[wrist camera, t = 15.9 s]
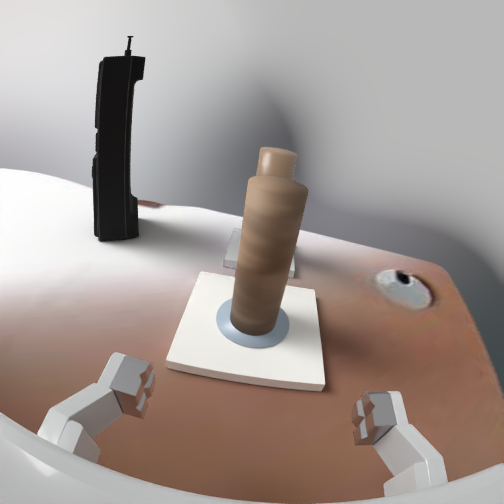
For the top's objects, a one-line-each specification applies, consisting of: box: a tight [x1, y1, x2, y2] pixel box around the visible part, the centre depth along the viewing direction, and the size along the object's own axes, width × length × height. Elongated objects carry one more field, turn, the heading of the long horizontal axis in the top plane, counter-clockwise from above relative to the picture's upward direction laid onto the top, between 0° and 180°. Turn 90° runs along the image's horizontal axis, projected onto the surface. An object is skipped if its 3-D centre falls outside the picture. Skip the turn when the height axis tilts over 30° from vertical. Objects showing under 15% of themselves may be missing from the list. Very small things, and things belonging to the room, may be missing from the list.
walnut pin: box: [230, 175, 308, 336], centre depth 22 cm, size 4×4×12 cm
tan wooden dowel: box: [223, 147, 297, 278], centre depth 34 cm, size 8×8×13 cm
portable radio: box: [92, 36, 145, 241], centre depth 32 cm, size 8×6×25 cm
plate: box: [166, 271, 325, 391], centre depth 26 cm, size 12×12×1 cm
